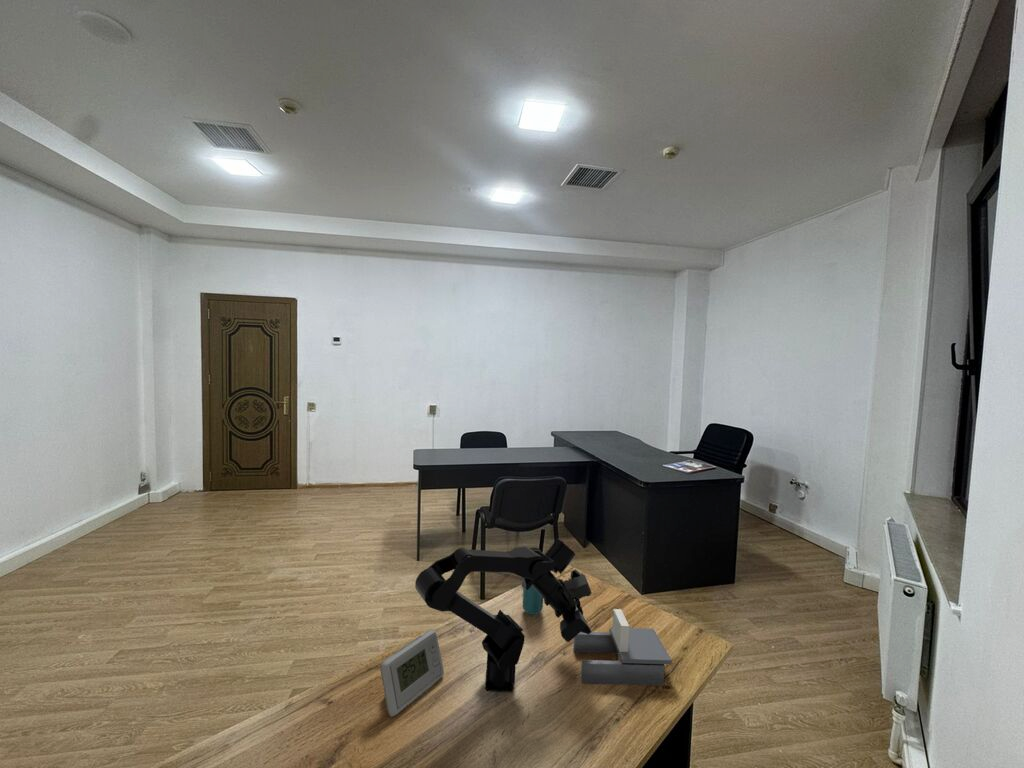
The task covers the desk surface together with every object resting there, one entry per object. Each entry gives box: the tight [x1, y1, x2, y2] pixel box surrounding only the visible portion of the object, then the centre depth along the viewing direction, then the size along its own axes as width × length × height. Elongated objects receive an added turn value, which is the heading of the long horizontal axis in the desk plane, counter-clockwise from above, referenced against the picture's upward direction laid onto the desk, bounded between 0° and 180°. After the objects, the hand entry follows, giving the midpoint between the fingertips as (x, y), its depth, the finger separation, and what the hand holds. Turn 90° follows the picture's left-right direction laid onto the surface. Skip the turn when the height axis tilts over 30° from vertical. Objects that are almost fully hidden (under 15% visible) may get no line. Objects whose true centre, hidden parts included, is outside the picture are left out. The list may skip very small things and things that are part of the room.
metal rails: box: [572, 631, 666, 687], centre depth 105 cm, size 20×12×5 cm, turn 91°
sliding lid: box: [609, 608, 673, 665], centre depth 105 cm, size 12×12×8 cm
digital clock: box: [379, 628, 445, 718], centre depth 94 cm, size 16×9×11 cm, turn 133°
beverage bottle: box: [521, 547, 544, 615], centre depth 126 cm, size 6×7×20 cm
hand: (589, 632), depth 104 cm, fingers closed
